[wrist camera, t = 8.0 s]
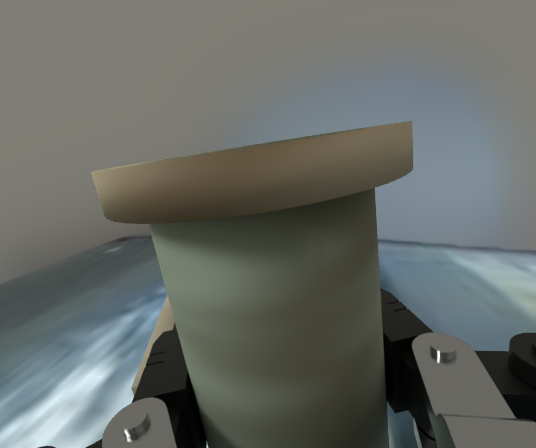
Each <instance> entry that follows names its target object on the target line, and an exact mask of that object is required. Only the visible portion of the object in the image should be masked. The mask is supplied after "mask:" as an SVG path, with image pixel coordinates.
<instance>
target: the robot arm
mask: <svg viewBox="0 0 536 448" xmlns="http://www.w3.org/2000/svg"><path fill="white" fill-rule="evenodd" d="M380 293H381V311H382V329H383V346H384V364H385V382H386V400H387V402H388V403H389V405H390V406H391V408H392V409H393V411H394V413H399V412H403V411H407V410H409V412H410V413H411V415H412V416H413V418H414V432H415V436H416V440H417V444H418V448H536V333H522V334H518V335H515V336H514V337H512V338H511V340H510V344H509V351H474V350H473V348H472V347H471V346H470V345H469V344H467V343H466V342H465V341H463V340H461V339H459V338H457V337H455V336H452V335H449V334H444V333H435V332H433V331H432V330H431V329H430V328H428V327H427V326H426V325H425V324H424V323H423V322H422V321H421V320H420V319H419V318H417V317H416V316H415V315H414V314H413V313H412V312H411V311H410V310H409V309H407V308H406V307H405V306H404V305H403V304H402V303H401V302H399V300H398V299H396V298H395V297H394V296H393V295H392V294H391V293H390V292H388V291H385V290H383V289H381V288H380ZM206 444H207V440H206V436H205V432H204V428H203V425H202V421H201V417H200V414H199V410H198V406H197V402H196V399H195V395H194V391H193V387H192V384H191V380H190V376H189V373H188V369H187V365H186V361H185V358H184V354H183V350H182V347H181V343H180V339H179V335H178V332H177V328H176V324H175V323H174V327H173V330H169V331H165V332H163V333H162V334H161V335H160V336H159V337H158V338H157V340H156V341H155V342H154V343H153V346H152V349H151V351H150V354H149V357H148V360H147V362H146V367H145V368H144V371H143V373H142V376H141V379H140V382H139V384H138V387H137V390H136V393H135V396H134V398H133V401H132V403H131V404H129V405H128V406H126V407H125V408H123V409H122V410H121V411H120V412H118V413H117V414H116V415H115V416H114V417H113V419H112V420H111V421H110V422H109V424H108V425H107V427H106V429H105V431H104V434H103V438H102V439H101V440H99V441H97V442H96V443H94V444H92V445H90V446H88V447H86V448H206ZM39 448H55V447H52V446H43V447H39Z"/></svg>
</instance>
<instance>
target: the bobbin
mask: <svg viewBox="0 0 536 448" xmlns="http://www.w3.org/2000/svg"><path fill="white" fill-rule="evenodd" d="M412 169H413V139H412V121H409V122H401V123H394V124H387V125H380V126H373V127H367V128H359V129H354V130H347V131H340V132H334V133H327V134H320V135H313V136H307V137H300V138H294V139H287V140H281V141H275V142H268V143H262V144H255V145H249V146H243V147H236V148H230V149H224V150H218V151H212V152H205V153H199V154H193V155H186V156H181V157H174V158H168V159H162V160H156V161H150V162H145V163H138V164H132V165H126V166H120V167H114V168H108V169H103V170H97V171H93V172H91V173H92V177H93V180H94V183H95V187H96V190H97V193H98V196H99V200H100V203H101V206H102V209H103V212H104V216H105V217H106V218H107V219H109V220H111V221H114V222H121V223H133V224H149V227H150V231H151V235H152V239H153V242H154V246H155V250H156V254H157V257H158V261H159V265H160V268H161V272H162V276H163V280H164V283H165V287H166V291H167V294H168V298H169V302H170V306H171V309H172V313H173V317H174V321H175V324H176V328H177V332H178V335H179V339H180V343H181V347H182V350H183V354H184V358H185V361H186V365H187V369H188V373H189V376H190V380H191V384H192V387H193V391H194V395H195V399H196V402H197V406H198V410H199V414H200V417H201V421H202V425H203V428H204V432H205V436H206V440H207V443H208V447H209V448H389V435H388V417H387V400H386V382H385V364H384V346H383V329H382V311H381V293H380V275H379V257H378V240H377V222H376V205H375V187H378V186H381V185H384V184H387V183H390V182H392V181H394V180H397V179H399V178H401V177H403V176H405V175H407V174H408V173H410V172H411V171H412Z"/></svg>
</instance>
